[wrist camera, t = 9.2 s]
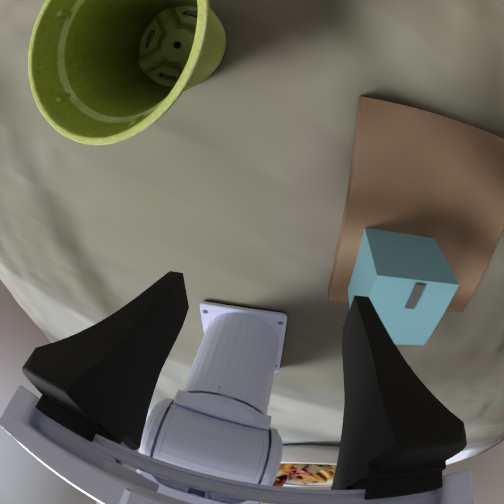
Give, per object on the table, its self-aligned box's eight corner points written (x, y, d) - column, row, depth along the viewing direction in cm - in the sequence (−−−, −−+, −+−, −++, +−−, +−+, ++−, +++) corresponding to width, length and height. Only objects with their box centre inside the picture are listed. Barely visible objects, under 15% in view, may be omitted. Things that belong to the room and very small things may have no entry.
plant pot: (278, 2, 12) (249, -56, 5) (223, 131, 17) (160, 175, 10) (147, -21, 11) (60, -48, 4) (109, 94, 17) (18, 122, 10)
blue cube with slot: (410, 296, 20) (424, 346, 16) (347, 289, 21) (351, 342, 17) (434, 238, 17) (460, 286, 13) (364, 227, 18) (377, 276, 14)
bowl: (313, 428, 40) (308, 470, 34) (400, 453, 46) (401, 483, 40) (222, 449, 57) (214, 477, 50) (310, 474, 63) (306, 497, 56)
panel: (459, 302, 21) (462, 311, 20) (327, 290, 23) (328, 300, 22) (517, 144, 12) (526, 149, 11) (359, 95, 14) (362, 96, 13)
